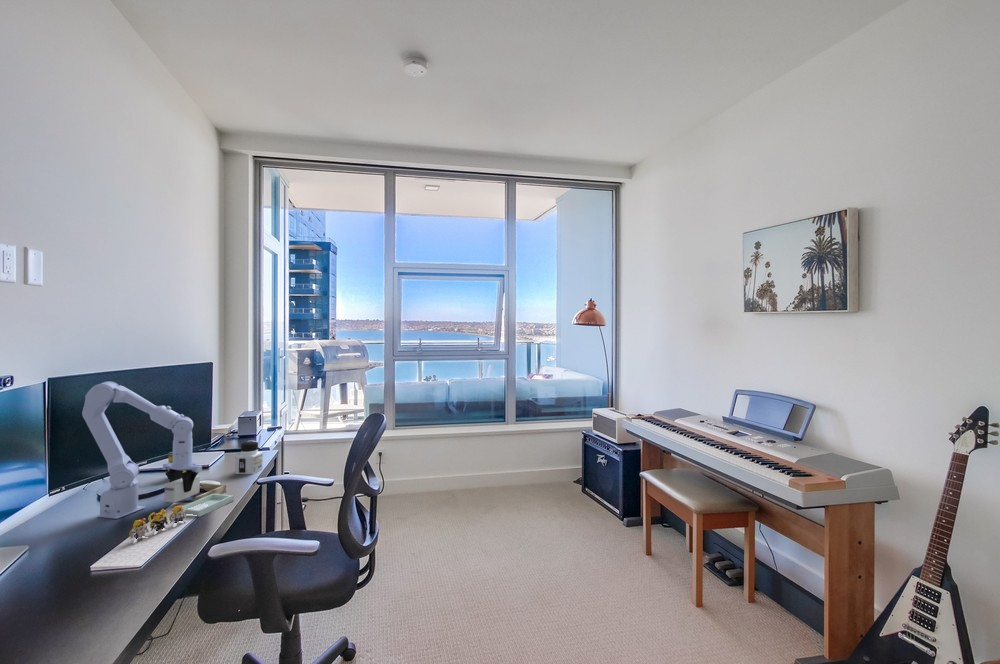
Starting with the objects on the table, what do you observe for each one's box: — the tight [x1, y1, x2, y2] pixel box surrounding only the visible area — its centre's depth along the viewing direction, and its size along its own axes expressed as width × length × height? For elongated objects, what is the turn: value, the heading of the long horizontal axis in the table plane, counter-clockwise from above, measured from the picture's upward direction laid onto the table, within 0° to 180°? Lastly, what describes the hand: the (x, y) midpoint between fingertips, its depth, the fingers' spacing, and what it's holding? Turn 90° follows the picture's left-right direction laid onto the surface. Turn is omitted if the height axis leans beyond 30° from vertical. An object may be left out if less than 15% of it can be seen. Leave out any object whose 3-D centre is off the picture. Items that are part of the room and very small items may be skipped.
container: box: [235, 440, 264, 475], centre depth 196 cm, size 8×8×13 cm
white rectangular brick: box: [163, 475, 201, 503], centre depth 159 cm, size 11×4×6 cm, turn 168°
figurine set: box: [128, 504, 188, 540], centre depth 137 cm, size 3×16×7 cm, turn 162°
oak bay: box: [193, 482, 227, 502], centre depth 166 cm, size 13×12×2 cm
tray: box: [182, 493, 235, 518], centre depth 156 cm, size 15×9×2 cm, turn 168°
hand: (182, 490), depth 159 cm, fingers closed on white rectangular brick, 4 cm apart
